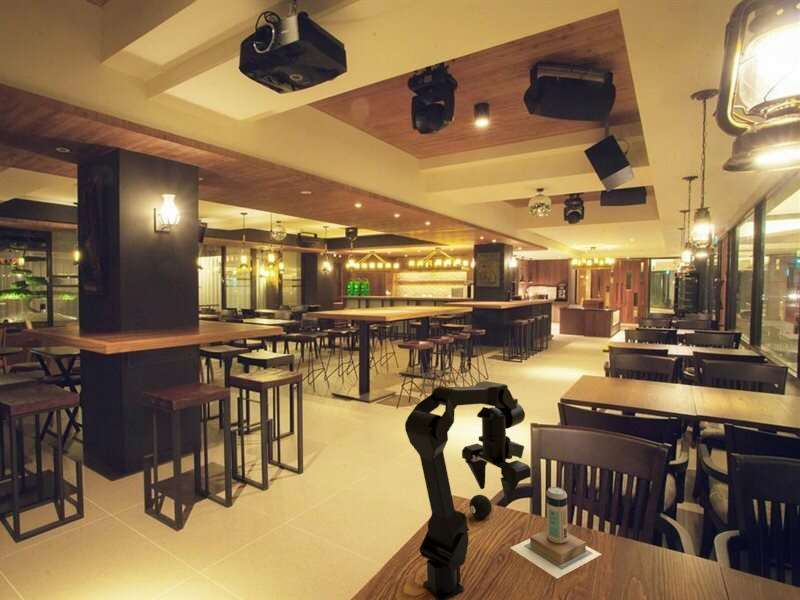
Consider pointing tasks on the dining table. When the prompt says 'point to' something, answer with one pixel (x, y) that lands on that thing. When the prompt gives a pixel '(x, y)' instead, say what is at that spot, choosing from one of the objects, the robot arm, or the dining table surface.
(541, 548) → the base block
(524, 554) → the white flat square slab
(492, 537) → the dining table surface
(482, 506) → the billiard ball
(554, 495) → the beer can
